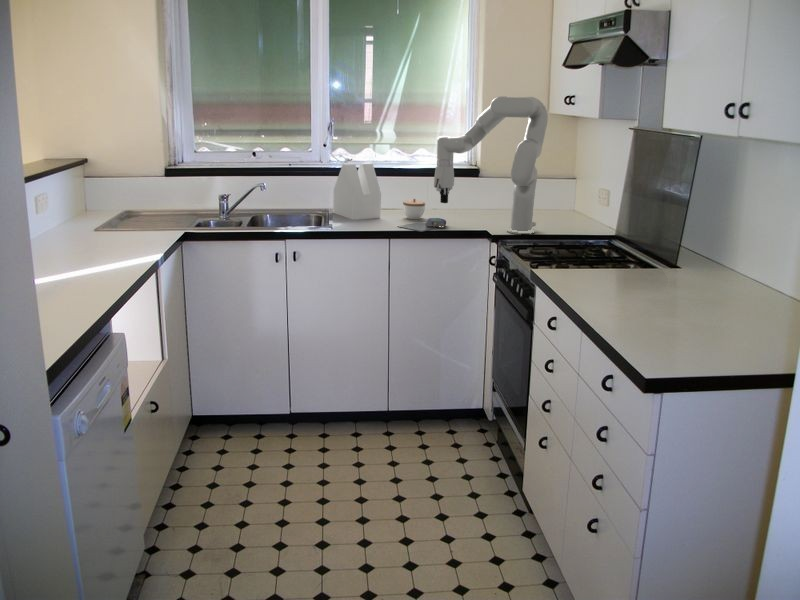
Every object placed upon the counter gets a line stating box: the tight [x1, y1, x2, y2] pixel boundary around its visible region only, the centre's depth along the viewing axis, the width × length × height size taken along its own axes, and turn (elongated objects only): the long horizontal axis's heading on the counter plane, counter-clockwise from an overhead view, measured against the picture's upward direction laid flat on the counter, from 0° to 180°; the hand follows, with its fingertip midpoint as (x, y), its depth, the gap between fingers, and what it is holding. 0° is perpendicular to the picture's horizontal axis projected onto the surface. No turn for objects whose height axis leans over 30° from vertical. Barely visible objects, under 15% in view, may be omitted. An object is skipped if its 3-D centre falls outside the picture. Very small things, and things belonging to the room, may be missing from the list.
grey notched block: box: [332, 162, 382, 221], centre depth 393 cm, size 19×15×25 cm
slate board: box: [397, 221, 441, 233], centre depth 374 cm, size 17×14×1 cm
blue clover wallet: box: [425, 217, 447, 229], centre depth 375 cm, size 9×3×11 cm
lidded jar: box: [402, 198, 426, 220], centre depth 394 cm, size 11×11×9 cm
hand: (444, 202), depth 382 cm, fingers closed
